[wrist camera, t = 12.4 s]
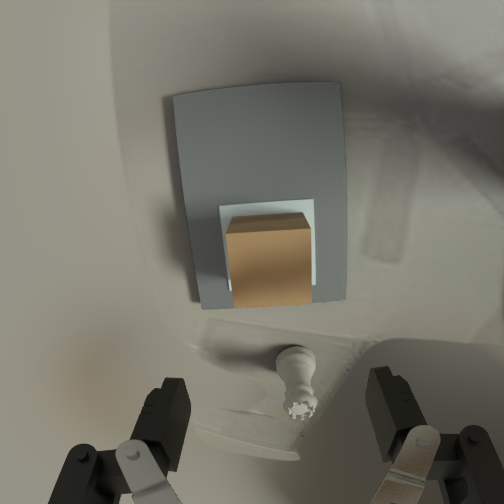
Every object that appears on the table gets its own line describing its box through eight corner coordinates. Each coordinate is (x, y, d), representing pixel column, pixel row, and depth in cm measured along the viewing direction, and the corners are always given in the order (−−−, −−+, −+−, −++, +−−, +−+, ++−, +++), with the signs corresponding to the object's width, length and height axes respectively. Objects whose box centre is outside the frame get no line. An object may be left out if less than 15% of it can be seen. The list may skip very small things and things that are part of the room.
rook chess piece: (273, 373, 35) (274, 425, 27) (277, 342, 33) (279, 395, 26) (311, 374, 35) (319, 425, 27) (318, 344, 33) (329, 396, 25)
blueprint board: (176, 97, 25) (171, 95, 24) (336, 84, 24) (340, 81, 23) (204, 303, 32) (201, 310, 30) (343, 294, 31) (346, 300, 29)
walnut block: (232, 216, 27) (225, 233, 22) (302, 212, 27) (311, 228, 22) (238, 280, 29) (234, 308, 24) (304, 276, 29) (311, 303, 24)
